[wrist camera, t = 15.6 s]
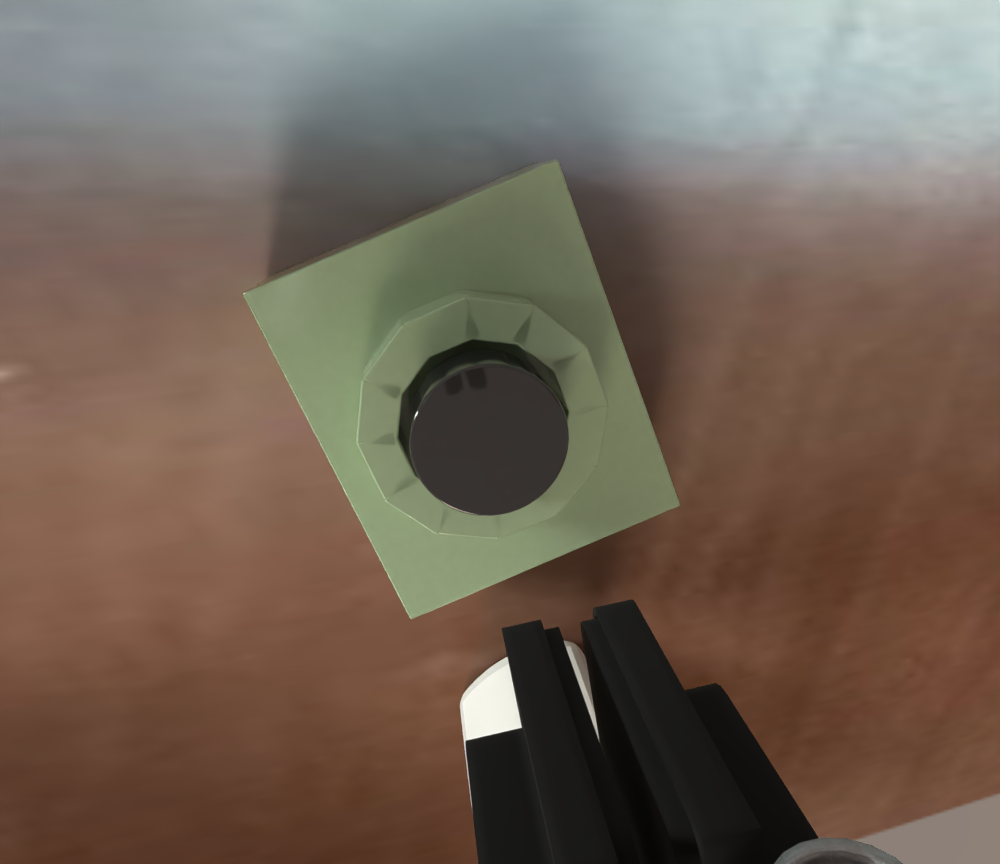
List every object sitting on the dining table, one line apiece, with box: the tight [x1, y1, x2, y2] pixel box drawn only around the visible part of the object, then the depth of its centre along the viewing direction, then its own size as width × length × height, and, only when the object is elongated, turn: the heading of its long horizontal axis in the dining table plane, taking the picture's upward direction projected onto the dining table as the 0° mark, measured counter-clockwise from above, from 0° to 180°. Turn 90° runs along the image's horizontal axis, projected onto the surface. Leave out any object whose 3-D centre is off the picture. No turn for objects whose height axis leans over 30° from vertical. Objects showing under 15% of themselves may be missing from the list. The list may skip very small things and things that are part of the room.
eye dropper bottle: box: [460, 641, 600, 812], centre depth 27 cm, size 4×6×12 cm
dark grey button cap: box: [409, 349, 569, 516], centre depth 22 cm, size 4×4×2 cm
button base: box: [243, 160, 680, 619], centre depth 26 cm, size 12×10×6 cm
